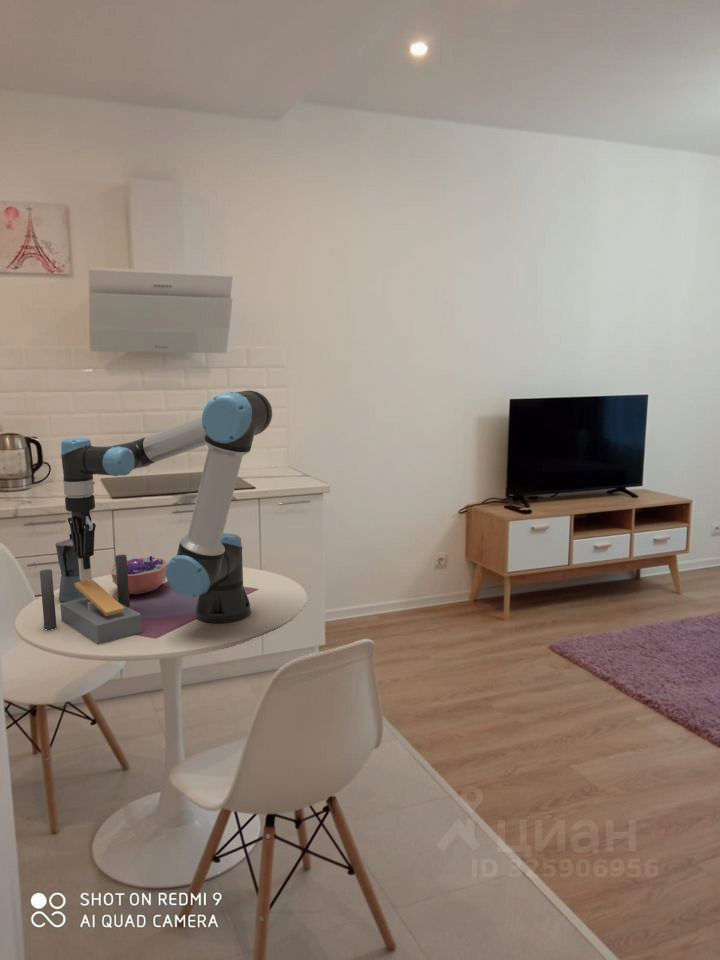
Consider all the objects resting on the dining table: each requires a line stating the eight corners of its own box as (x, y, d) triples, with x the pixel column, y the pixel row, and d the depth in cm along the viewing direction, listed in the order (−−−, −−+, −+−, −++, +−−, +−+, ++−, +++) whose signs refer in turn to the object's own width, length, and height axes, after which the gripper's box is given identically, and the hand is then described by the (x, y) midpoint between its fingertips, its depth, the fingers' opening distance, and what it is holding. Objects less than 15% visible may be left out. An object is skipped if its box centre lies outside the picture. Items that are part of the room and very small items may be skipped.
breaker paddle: (124, 611, 196) (124, 607, 196) (106, 616, 193) (106, 612, 192) (92, 582, 210) (92, 579, 209) (74, 586, 206) (74, 582, 206)
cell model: (179, 582, 241) (177, 548, 239) (153, 602, 221) (151, 565, 219) (129, 580, 243) (126, 546, 241) (99, 600, 224) (96, 564, 222)
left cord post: (58, 628, 201) (53, 570, 198) (47, 631, 199) (42, 573, 196) (54, 625, 203) (49, 568, 201) (42, 628, 201) (38, 570, 199)
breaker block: (142, 632, 198) (140, 605, 196) (98, 644, 190) (96, 616, 188) (103, 610, 215) (101, 585, 214) (61, 620, 207) (59, 595, 206)
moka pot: (96, 590, 233) (92, 528, 230) (87, 607, 218) (82, 540, 215) (64, 592, 231) (59, 529, 228) (52, 609, 216) (47, 542, 213)
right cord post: (131, 610, 215) (128, 555, 212) (121, 612, 213) (118, 558, 210) (127, 607, 217) (123, 554, 215) (117, 609, 215) (113, 555, 213)
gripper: (103, 496, 200) (109, 581, 204) (83, 490, 210) (89, 571, 213) (75, 500, 195) (82, 587, 199) (56, 494, 205) (62, 577, 208)
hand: (85, 579), depth 206 cm, fingers closed
